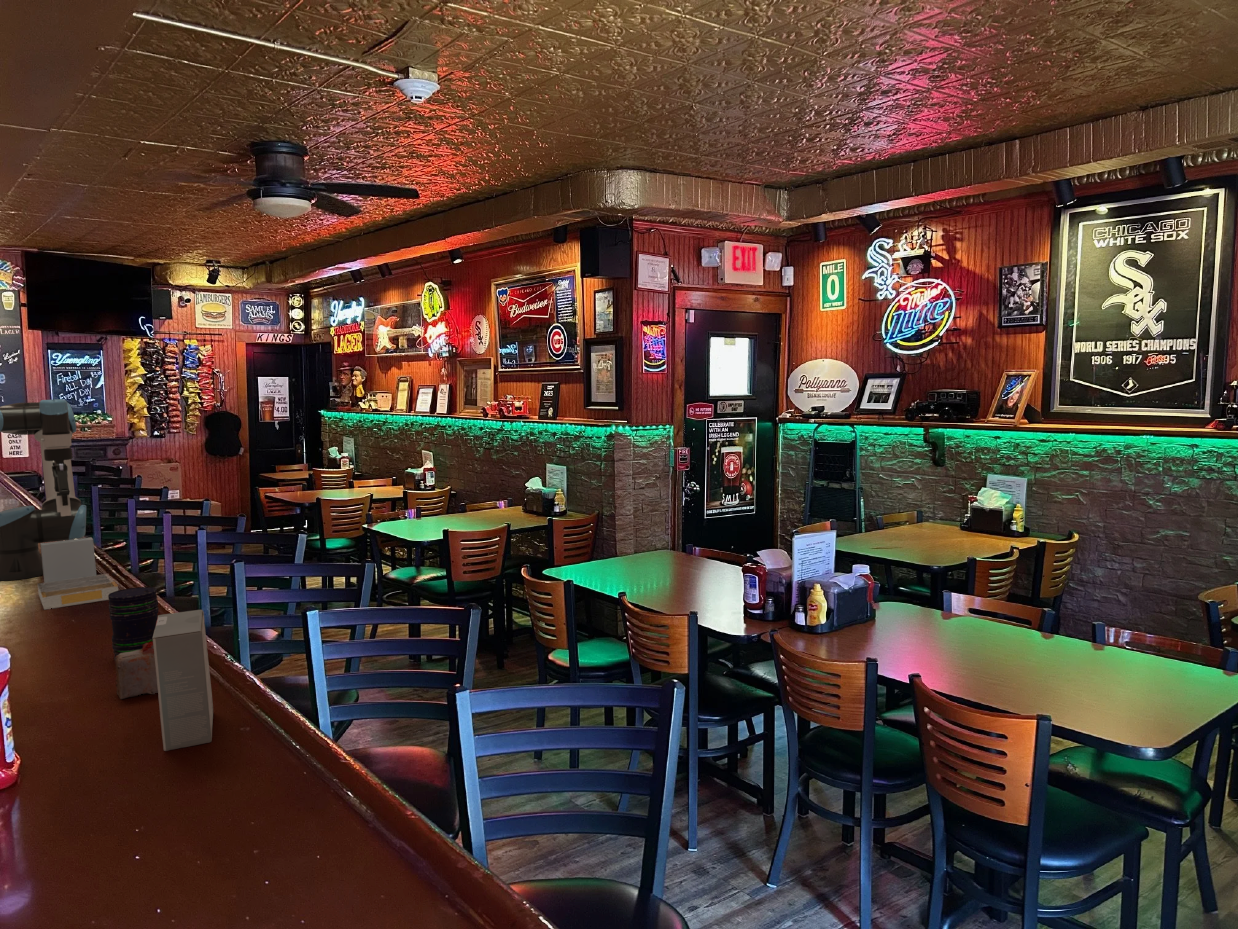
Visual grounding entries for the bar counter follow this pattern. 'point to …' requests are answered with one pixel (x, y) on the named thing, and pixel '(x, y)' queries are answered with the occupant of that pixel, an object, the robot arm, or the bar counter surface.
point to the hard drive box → (183, 679)
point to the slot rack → (76, 591)
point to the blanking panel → (68, 559)
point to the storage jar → (132, 618)
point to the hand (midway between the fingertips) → (64, 513)
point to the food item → (136, 672)
